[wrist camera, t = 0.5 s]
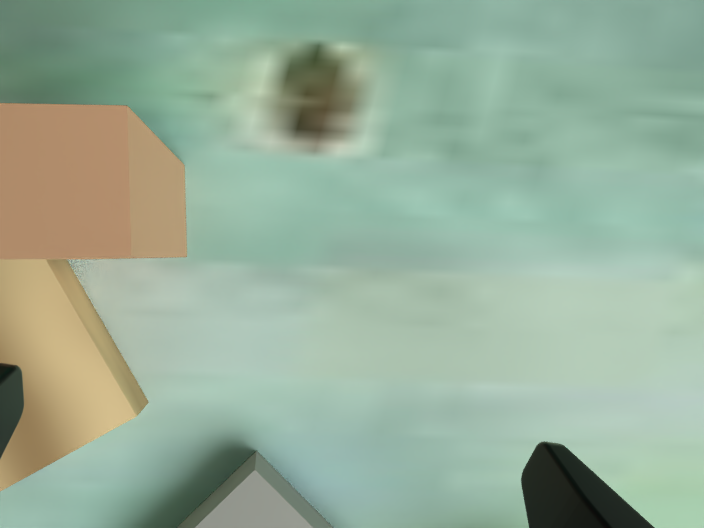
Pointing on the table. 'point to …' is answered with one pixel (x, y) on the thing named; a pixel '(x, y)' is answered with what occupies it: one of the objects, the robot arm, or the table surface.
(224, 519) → the slate block
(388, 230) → the table surface
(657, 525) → the table surface
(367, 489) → the table surface
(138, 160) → the terracotta block
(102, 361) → the oak block
